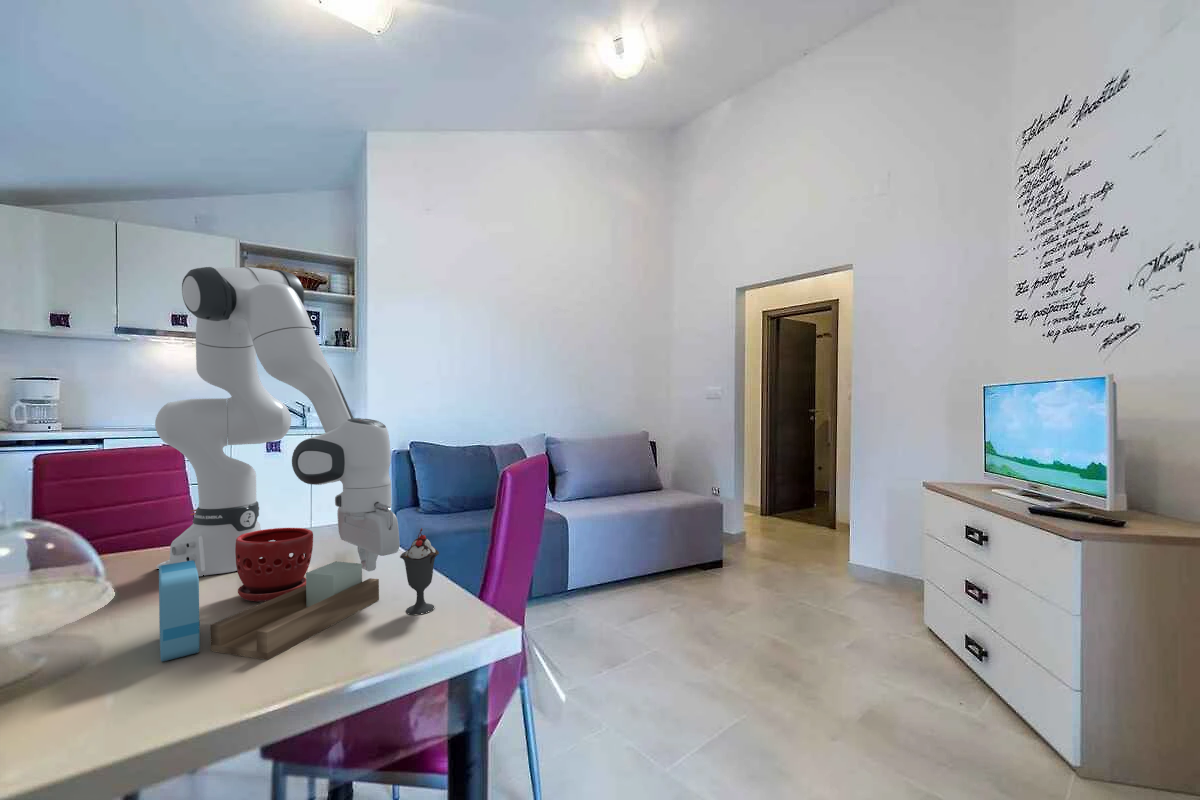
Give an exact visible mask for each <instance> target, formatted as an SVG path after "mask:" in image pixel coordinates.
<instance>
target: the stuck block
mask: <svg viewBox="0 0 1200 800" xmlns="http://www.w3.org/2000/svg"><path fill="white" fill-rule="evenodd" d="M305 578H306V607H309V606H311V605H314V604H316V603H318V602H320V601H322V600H324V599H327V598H329V597H331V596H333V595H335V594H337V593H339V592H342V591H344V590H346V589H348V588H350V587H352V586H354V585H357V584H359V583H361V582H363V569H362V564H361V562H360V563H357V562H346V561H345V562H344V561H343V562H342V561H333V562H330V563H329V564H325V565H322V566H320V567H317V568H314V569H313V570H310V571H307V572H306V574H305Z"/></svg>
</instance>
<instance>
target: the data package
mask: <svg viewBox="0 0 1200 800" xmlns="http://www.w3.org/2000/svg"><path fill="white" fill-rule="evenodd" d="M199 577H200V576H199ZM199 577H198V572H197V569H196V565H195V562H194V561H193V560H192V561H186V562H179V563H173V564H167V565H161V566H159V570H158V600H159V602H158V603H159V604H158V606H159V607H158V609H159V614H158V616H159V653H160V655H159V657H160V661H161V662H162V663H163V662H166V661H167V662H168V661H170V660H176V659H178V658H183V657H186V656H191V655H194V654H198V653H200V650H201V649H200V647H201V645H200V643H201V640H200V638H201V637H200V635H201V634H200V631H201V630H200V580H199Z"/></svg>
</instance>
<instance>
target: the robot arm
mask: <svg viewBox="0 0 1200 800" xmlns="http://www.w3.org/2000/svg"><path fill="white" fill-rule="evenodd" d="M181 295H182V300H183V303H184V305H185V307H186V309H187V310H188V312H190V313H191V314H192V315H193V316H194V317H196V324H195V325H196V326H195V350H196V351H195V360H196V361H195V364H196V365H195V366H196V369H195V370H196V372H197V374H198V375H199V377H200V378H201V379H202V380H203V381H204V382H206V383H208V384H210V385H212V386H214V387H217V388H220V389H222V390H224V391H225V392H227V393H229V395H230V397H227V398H188V399H182V400H176V401H170V402H167V403H166V404H164V405H163V406H161V408H160V409H159V410H158V412H157V414H156V417H155V420H154V421H155V422H154V423H155V424H154V427H155V431H156V433H157V435H158V437H159V438H160V440H162V442H163V443H165V444H167V445H168V446H170V447H172V448H173V449H176V450H177V451H178V452H180V453H181V454H182V455H183V456H184V457H186V459H187V461H188V462H189V463H190V464H191V466H192V469H193V470H194V472H195V477H196V481H197V493H198V507H197V508H195V509H191V510H189V512H191V513H190V514H189V515H190V516H193V519H192V524H191V525H190V526H189V527H188V528H187V529H185V530H184V531H183V532H182V533H181V534H179V536H177V537H176V538H175V539H174V540H172V542H171V544H170V548H169V559H168V560H165V561H163V562H160V563H158V564H156V567H155V568H158V569H159V566H161V565H167V564H173V563H179V562H186V561H192V560H193V561H194V562H195V565H196V569H197V572H198V577H203V575H204V576H209V575H210V576H211V575H217V574H227V573H232V572H236V571H237V566H236V555H235V546H236V539H237V537H239V536H240V535H242V534H245V533H249V532H254V531H259V530H262V527H261V523H260V522H259V521H258V517H259V516H260V506H259V502H258V501H257V473H256V471H255V468H254V467H253V466H252V465H250V464H249V463H247V462H244V461H242V460H239V459H238V458H237V459H236V458H233V457H230V456H228V455H227V454H226V453H225V452H224V449H223V448H224V447H227V446H237V445H238V446H239V445H257V444H258V445H260V444H264V443H265V444H266V443H269V442H275V441H278V440H282V439H283V438H284V437H285V436H286V435H287V434H288V432H289V430H290V428H291V426H292V417H291V416H292V415H291V413H290V411H289V408H288V407H287V406H286V404H285V403H283V401H281V400H279V399H277V398H275V397H274V395H272V394H271V393H270V392H269V391H268V390H267V389H266V388H265V386H264V385H263V383H262V382H261V379H260V376H259V372H258V366H257V364H258V363H257V358H258V361H259V362H260V364H261V365H262V367H263V369H264V371H266V373H267V374H268V375H269V376H271V377H272V378H274V379H276V380H278V381H279V382H282V383H284V384H286V385H289V386H291V387H292V388H294V389H296V390H297V391H299V392H301V393H302V394H303V395H304V396H305V397H307V399H308V400H309V401H310V402H311V403H312V406H313V407H314V410H315V412H316V414H317V416H318V419H319V422H320V424H321V426H322V428H323V431H324V433H322V434H318V435H316V436H312V437H309V438H307V439H304V440H302V441H300V442H299V443H298V444H297V446H296V447H295V449H293V452H292V456H291V467H292V470H293V472H294V474H295V476H296V477H297V478H298V480H300V481H301V482H303V483H305V484H307V485H313V486H314V485H315V486H317V485H318V486H321V485H326V484H330V483H336V482H341V483H342V491H341V493H339V494H336V496H335V497H334V504H335V506H336V507H337V513H336V514H337V527H338V535H339V538H340V540H341V541H344V542H347V543H348V544H352V545H354V546H357V553H358V557H359V559H360V564H362V570H366V571H367V572H372V571H375V570H376V569H377V559H378V557H379V556H380V557H384V556H389V555H394V554H397V553H398V552H399V549H400V532H399V531H400V530H399V523H398V522H399V521H398V518H397V516H396V514H395V513H394V512H393V511H392V510H391V507H392V480H391V477H390V474H389V473H390V466H391V459H392V455H391V444H390V443H391V441H390V435H389V431H388V427H387V426H386V424H385V423H384V422H382V421H379V420H376V419H370V418H362V417H361V418H360V417H359V418H358V417H353V416H354V415H353V414H352V412H351V409H350V407H349V405H348V402H347V400H346V397H345V395H344V392H343V390H342V388H341V386H340V384H339V381H338V379H337V378H336V376H335V374H334V373H333V371H332V369H331V367H330V365H329V363H328V362H327V359H326V358H325V355H324V353H323V350H322V348H321V346H320V344H319V341H318V337H317V335H316V333H315V330H314V327H313V324H312V322H311V319H310V317H309V315H308V312H307V310H306V308H305V305H304V304H305V301H306V300H305V298H306V297H305V289H304V287H303V283H301V281H300V279H299V277H297V276H296V275H295V274H294V273H291V272H288V271H286V270H281V269H273V270H272V269H267V268H260V267H252V266H251V267H250V266H243V267H212V266H206V267H205V266H204V267H197V268H196V267H195V268H193V269H190V270H189V271H188V272H187V273H186V274H185V276H184V277H183V278H182V283H181ZM192 512H193V513H192ZM261 558H263V557H261ZM261 558H259V559H261ZM237 572H238V571H237Z"/></svg>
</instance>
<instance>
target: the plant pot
mask: <svg viewBox="0 0 1200 800" xmlns="http://www.w3.org/2000/svg"><path fill="white" fill-rule="evenodd" d="M313 546H314V531H312V530H310V529H308V528H303V527H301V528H300V527H274V528H267V529H261V530H259V531H254V532H249V533H245V534H242V535H240V536H239V537H237V539H236V546H235V555H236V566H237V575H238V577H239V579H240V582H241V583H242V585H240V586H239V588H238V589H237V593H238V596H240V597H241V598H242V599H244V600H245V601H249V602H257V603H258V602H260V603H261V602H262V603H264V602H266V601H269V600H271V599H274V598H276V597H279V596H281V595H283V594H286V593H288V592H291V591H293V590H295V589H298V588H300V587H303V586H305V585H306V573H307V572H308V569H309V567H310V564H311V559H312V554H313ZM290 554H292V556H290ZM261 557H263V558H261ZM259 558H261V559H259Z"/></svg>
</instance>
